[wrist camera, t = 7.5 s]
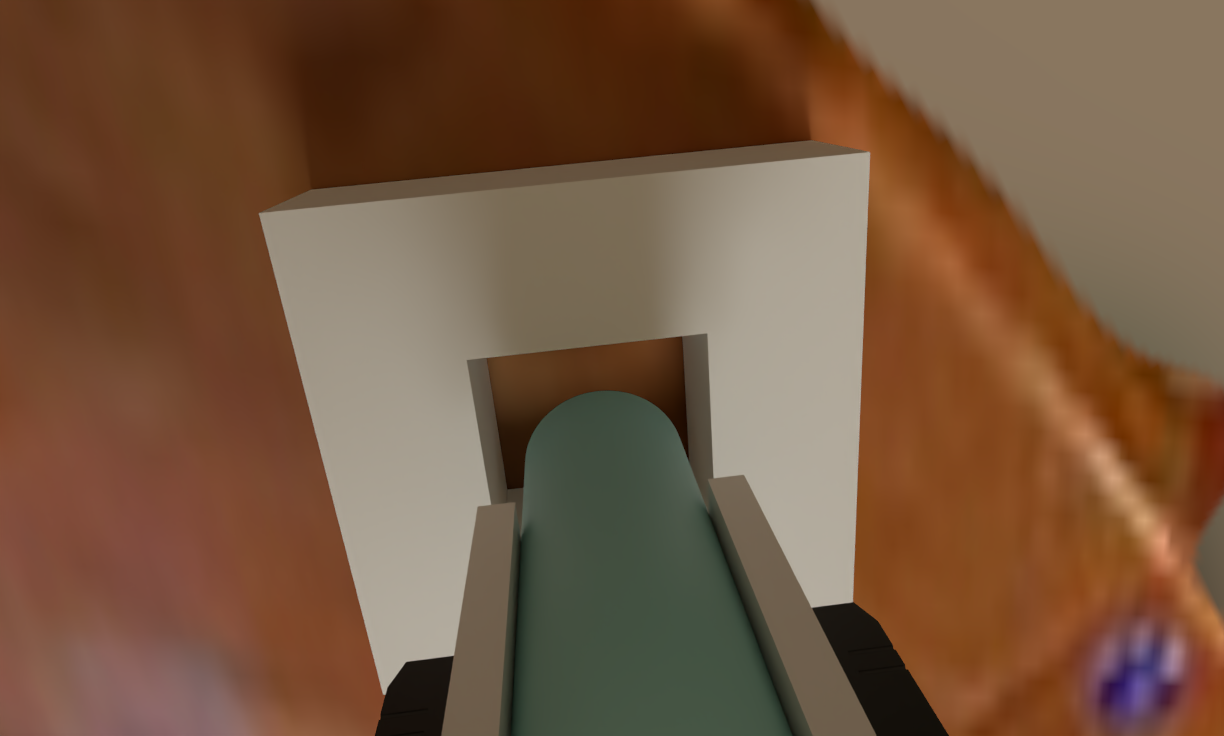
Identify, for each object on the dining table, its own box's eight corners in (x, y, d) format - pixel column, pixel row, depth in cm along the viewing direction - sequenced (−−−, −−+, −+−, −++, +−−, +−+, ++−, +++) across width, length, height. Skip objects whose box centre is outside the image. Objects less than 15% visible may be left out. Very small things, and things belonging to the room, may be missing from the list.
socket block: (406, 604, 25) (383, 694, 22) (310, 189, 20) (259, 213, 17) (807, 553, 26) (851, 632, 22) (811, 140, 21) (870, 152, 17)
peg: (535, 540, 19) (509, 1731, 5) (514, 400, 18) (407, 1534, 4) (686, 521, 19) (1044, 1625, 6) (679, 381, 18) (1136, 1403, 4)
